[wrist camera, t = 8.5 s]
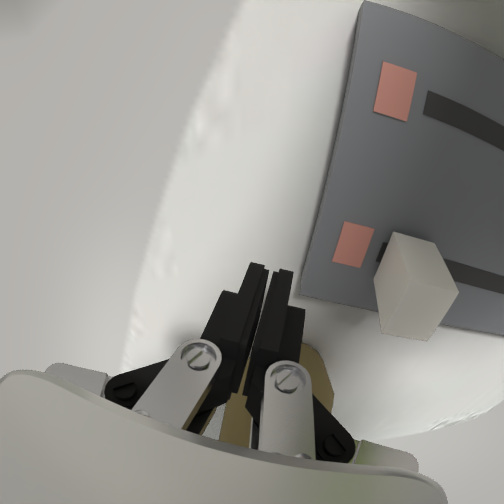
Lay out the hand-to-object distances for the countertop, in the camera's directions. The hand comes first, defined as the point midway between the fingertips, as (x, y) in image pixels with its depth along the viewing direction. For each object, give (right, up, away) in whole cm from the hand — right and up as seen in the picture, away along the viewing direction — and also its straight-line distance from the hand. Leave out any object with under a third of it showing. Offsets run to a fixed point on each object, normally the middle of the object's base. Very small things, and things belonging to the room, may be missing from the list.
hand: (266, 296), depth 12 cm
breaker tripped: (+7, +1, +3) cm, 8 cm away
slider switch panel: (+14, +4, +2) cm, 15 cm away
